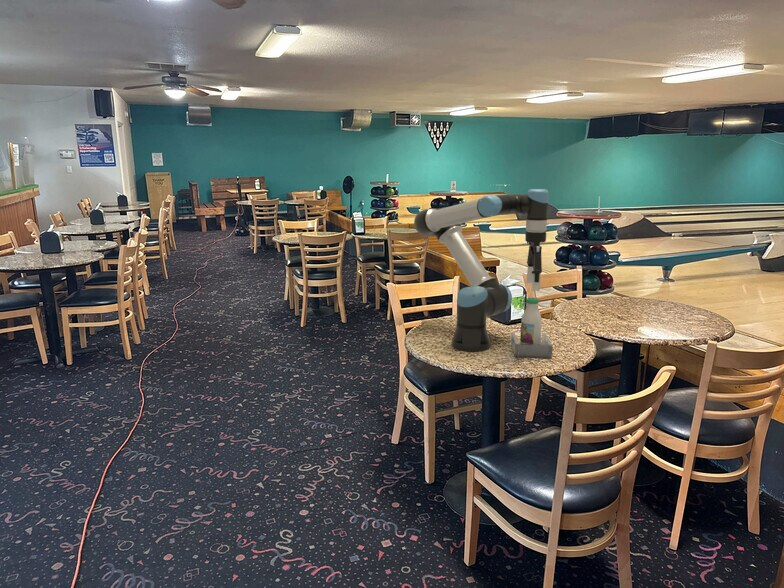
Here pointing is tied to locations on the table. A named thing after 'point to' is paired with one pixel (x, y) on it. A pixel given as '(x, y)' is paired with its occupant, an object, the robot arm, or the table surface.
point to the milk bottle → (531, 323)
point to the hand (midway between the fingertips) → (532, 286)
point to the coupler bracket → (532, 348)
